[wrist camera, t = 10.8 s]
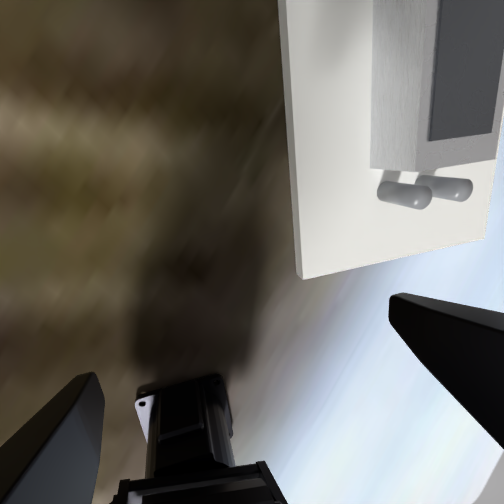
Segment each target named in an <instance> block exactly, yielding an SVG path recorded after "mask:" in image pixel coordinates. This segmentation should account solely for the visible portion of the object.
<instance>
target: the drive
mask: <svg viewBox="0 0 504 504" xmlns="http://www.w3.org/2000/svg"><path fill="white" fill-rule="evenodd" d="M503 107H504V0H373V29H372V80H371V131H370V169H382V170H394V171H406V172H419V171H426V170H432V169H438V168H444V167H450V166H457V165H463V164H469V163H475V162H481V161H487V160H494V159H495V158H496V152H497V145H498V139H499V133H500V126H501V120H502V113H503Z"/></svg>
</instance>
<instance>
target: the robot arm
mask: <svg viewBox="0 0 504 504" xmlns="http://www.w3.org/2000/svg"><path fill="white" fill-rule="evenodd" d="M388 317H389V322H390V324H391V325H392V327H393V328H394V329H395V330H396V332H397V333H398V334H399V336H400V337H401V338H402V339H403V341H404V342H405V343H406V344H407V346H408V347H409V348H410V349H411V351H412V352H413V353H414V354H415V356H416V357H417V358H418V359H419V361H420V362H421V363H422V364H423V365H424V366H425V367H426V368H427V369H428V370H429V372H430V373H431V374H432V375H433V376H434V377H435V378H436V379H437V380H438V381H439V382H440V383H441V384H442V385H443V386H444V387H445V388H446V389H447V390H448V391H449V392H450V394H451V395H452V396H453V397H454V398H455V399H456V400H457V401H458V402H459V403H460V404H461V405H462V406H463V407H464V408H465V409H466V410H467V411H468V412H469V413H470V414H471V416H472V417H473V418H474V419H475V420H476V421H477V422H478V423H479V424H480V425H481V426H482V427H483V428H484V429H485V430H486V431H487V432H488V433H489V434H490V435H491V437H492V438H493V439H494V440H495V441H496V442H497V443H498V444H499V445H500V446H501V447H502V448H503V449H504V313H501V312H496V311H492V310H487V309H482V308H477V307H472V306H467V305H462V304H457V303H452V302H447V301H442V300H437V299H433V298H428V297H423V296H418V295H413V294H408V293H398V294H395V295H392V296H391V297H390V299H389V316H388ZM216 380H219V381H217V382H214V381H216ZM141 401H145V402H143V403H141ZM104 407H105V399H104V394H103V392H102V389H101V386H100V383H99V381H98V378H97V375H96V374H95V373H94V372H88V373H84V374H80V375H77V376H76V377H75V378H73V379H72V380H71V381H70V382H69V383H68V384H67V385H66V386H65V387H64V388H63V389H62V390H61V391H60V392H59V393H57V394H56V395H55V396H54V397H53V398H52V399H51V400H50V401H49V402H48V403H47V404H46V405H45V406H44V407H43V408H42V409H40V410H39V411H38V412H37V413H36V414H35V415H34V416H33V417H32V418H31V419H30V420H29V421H28V422H27V423H26V424H24V425H23V426H22V427H21V428H20V429H19V430H18V431H17V432H16V433H15V434H14V435H13V436H12V437H11V438H10V439H8V440H7V441H6V442H5V443H4V444H3V445H2V446H1V447H0V504H91V503H92V498H93V493H94V488H95V483H96V478H97V473H98V468H99V461H100V452H101V441H102V430H103V418H104ZM135 407H136V410H137V413H138V417H139V420H140V423H141V426H142V429H143V432H144V435H145V438H146V441H147V456H146V471H145V479H139V480H132V481H130V479H125V480H120V483H119V489H118V494H117V495H114V497H113V501H112V502H111V503H110V504H288V503H287V501H286V499H285V498H284V496H283V494H282V492H281V490H280V488H279V486H278V485H277V483H276V481H275V479H274V477H273V475H272V474H271V472H270V470H269V468H268V466H267V464H266V462H265V461H258V462H256V464H249V465H242V466H236V465H235V460H234V456H233V451H232V446H231V442H230V438H231V437H232V436H233V430H232V425H231V419H230V414H229V408H228V403H227V397H226V392H225V387H224V381H223V377H222V375H220V374H213V375H210V376H206V377H202V378H199V379H195V380H192V381H188V382H184V383H181V384H177V385H173V386H170V387H166V388H163V389H159V390H155V391H152V392H148V393H145V394H141V395H139V396H138V397H136V400H135Z"/></svg>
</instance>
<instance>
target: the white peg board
mask: <svg viewBox="0 0 504 504" xmlns="http://www.w3.org/2000/svg"><path fill="white" fill-rule="evenodd" d="M278 13H279V27H280V42H281V56H282V71H283V85H284V100H285V114H286V128H287V143H288V157H289V172H290V186H291V201H292V215H293V230H294V244H295V259H296V273H297V275H299V276H300V277H301V278H302V279H303V280H305V279H309V278H314V277H318V276H322V275H327V274H331V273H336V272H340V271H344V270H349V269H353V268H358V267H362V266H367V265H371V264H375V263H380V262H384V261H389V260H393V259H397V258H402V257H406V256H411V255H415V254H419V253H424V252H428V251H433V250H437V249H441V248H446V247H450V246H455V245H459V244H464V243H468V242H472V241H477V240H481V239H484V237H485V231H486V225H487V218H488V212H489V206H490V199H491V193H492V187H493V180H494V174H495V168H496V161H497V155H498V149H499V142H500V136H501V130H502V123H503V117H504V107H503V113H502V120H501V126H500V133H499V139H498V145H497V152H496V158H495V159H494V160H487V161H481V162H475V163H469V164H463V165H457V166H450V167H444V168H438V169H432V170H426V171H419V172H406V171H394V170H382V169H370V131H371V80H372V29H373V0H278Z"/></svg>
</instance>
